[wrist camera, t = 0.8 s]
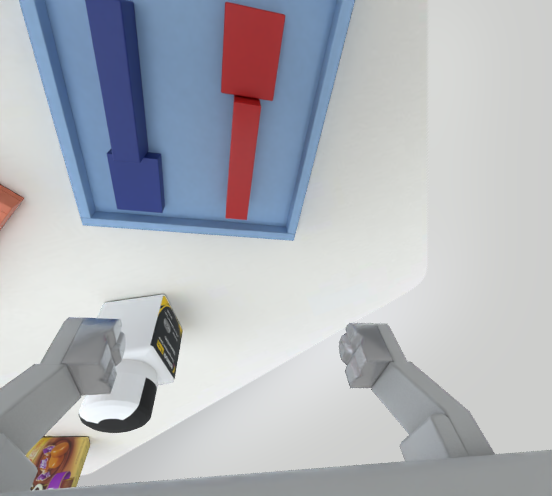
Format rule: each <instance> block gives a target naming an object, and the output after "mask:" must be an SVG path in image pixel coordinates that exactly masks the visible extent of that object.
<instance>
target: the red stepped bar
mask: <svg viewBox="0 0 552 496" xmlns="http://www.w3.org/2000/svg"><path fill="white" fill-rule="evenodd" d="M284 23H285V15H284V14H280V13H276V12H271V11H267V10H262V9H258V8H253V7H248V6H244V5H239V4H235V3H230V2H225V14H224V35H223V57H222V78H221V93H225V94H231V95H234V102H233V116H232V130H231V144H230V158H229V172H228V185H227V199H226V216H225V218H227V219H239V220H247V215H248V207H249V199H250V192H251V184H252V176H253V168H254V160H255V152H256V144H257V136H258V128H259V120H260V113H261V104H260V100H259V99H262V100H268V101H273V97H274V91H275V84H276V77H277V70H278V63H279V57H280V50H281V43H282V36H283V30H284Z"/></svg>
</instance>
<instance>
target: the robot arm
mask: <svg viewBox="0 0 552 496" xmlns="http://www.w3.org/2000/svg"><path fill="white" fill-rule="evenodd" d="M121 328H122V322H121V319H103V318H76V317H69V318H68V319H67V320H66V321H64V323H63V324H62V326H61V328H60V330H59V331H58V333H57V335H56V337H55V338H54V340H53V342H52V344H51V345H50V347H49V349H48V350H47V352H46V354H45V356H44V357H43V359H42V361H41V363H40V364H34V365H33V366H31V367H30V368H28V369H27V370H26V371H24V372H23V373H21V374H20V375H19V376H17V377H16V378H14V379H13V380H12V381H10V382H9V383H7V384H6V385H5V386H3V387H2V388H1V389H0V496H552V450H545V451H531V452H519V453H506V454H495V453H494V452H493V450H492V448H491V447H490V445H489V444H488V442H487V440H486V438H485V437H484V435H483V433H482V432H481V430H480V428H479V427H478V425H477V423H476V421H475V420H474V418H473V417H472V415H471V413H470V411H468V410H467V409H466V408H465V407H463V406H462V405H461V404H460V403H459V402H458V401H457V400H455V399H454V398H453V397H452V396H450V394H448V393H447V392H446V391H445V390H444V389H442V388H441V387H440V386H439V385H438V384H437V383H435V382H434V381H433V380H432V379H431V378H429V377H428V376H427V375H426V374H425V373H424V372H422V371H421V370H420V369H419V368H418V367H416V366H415V365H414V364H413V363H412V362H407V360H406V358H405V356H404V354H403V352H402V350H401V348H400V346H399V344H398V342H397V341H396V338H395V337H394V335H393V333H392V331H391V329H390V327H389V326H388V325H387V324H373V323H349V324H348V325H347V327H346V332H347V333H346V334H344V335H343V336H342V337H341V339H340V342H339V352H340V356H341V360H342V361H343V362H344V363H345V364H346V365H347V367H346V370H345V373H346V376H347V379H348V382H349V385H350V388H372V389H371V390H372V391H373V392H374V393H375V395H376V396H377V397H378V398H379V399H380V400H381V402H382V403H383V404H384V405H385V406H386V408H388V410H389V411H390V412H391V413H392V415H393V416H394V417H395V418H396V419H397V420H398V422H399V423H400V424H401V425H402V426H403V428H404V429H405V430H406V431H407V432H408V434H409V436H408V437H407V438H406V439H404V440H403V441H402V442H401V444H400V449H401V451H402V454H403V457H404V459H405V461H404V462H391V463H378V464H366V465H353V466H340V467H328V468H314V469H302V470H289V471H276V472H264V473H251V474H238V475H225V476H214V477H200V478H187V479H175V480H162V481H150V482H136V483H123V484H111V485H98V486H85V487H72V488H60V489H47V490H34V491H30V488H31V486H32V484H33V481H34V479H35V477H36V474H37V472H38V470H37V468H36V466H35V465H34V464H33V463H32V462H31V461H30V460H29V459H28V458H27V457H26V456H25V455H26V454H27V453H28V452H29V451H30V449H31V448H32V447H33V446H34V445H35V444H36V443H37V442H38V441H39V440H40V439H41V438H42V437H43V436H44V435H45V434H46V433H47V432H48V431H49V430H50V429H51V428H52V427H53V426H54V425H55V424H56V423H57V422H58V421H59V420H60V419H61V417H62V416H63V415H64V414H65V413H66V412H67V411H68V410H69V409H70V408H71V407H72V406H73V405H74V404H75V403H76V402H77V401H78V400H79V399H80V398H81V395H98V394H111V391H112V388H113V385H114V382H115V379H116V376H117V372H116V368H115V367H116V366H117V365H118V364H119V363H120V362H121V361H122V358H123V355H124V351H125V345H126V342H125V334H124V333H123V332H121Z"/></svg>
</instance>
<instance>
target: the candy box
mask: <svg viewBox="0 0 552 496" xmlns="http://www.w3.org/2000/svg"><path fill="white" fill-rule="evenodd" d="M89 447H90V442H89V438H88V437H45V438H41V439H40V440H39V441H38V442H37V443H36V444H35V445H34V446H33V447H32V448H31V449H30V451H29V452H28V453H27V454H26V457H27V458H28V459H29V460H30V461H31V462H32V463H33V464H34V465H35V466H36V468H37V470H38V472H37V474H36V477H35V479H34V481H33V484H32V486H31V488H30V491H34V490H47V489H60V488H72V487H76V486H77V483H78V480H79V477H80V474H81V471H82V468H83V465H84V462H85V459H86V456H87V453H88V450H89Z"/></svg>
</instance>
